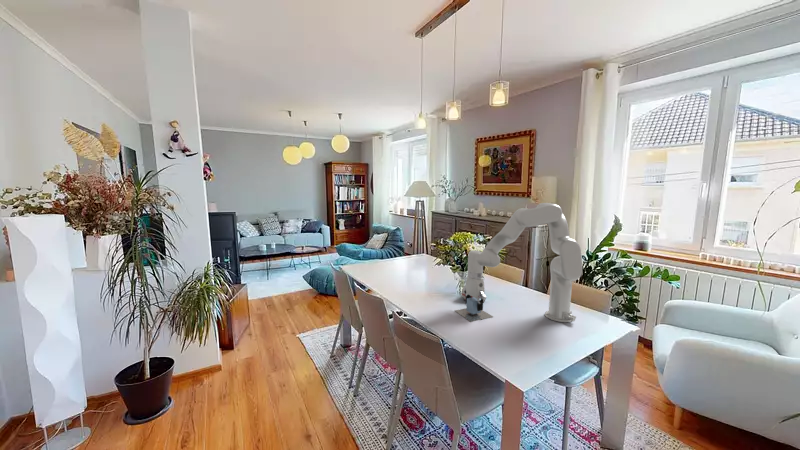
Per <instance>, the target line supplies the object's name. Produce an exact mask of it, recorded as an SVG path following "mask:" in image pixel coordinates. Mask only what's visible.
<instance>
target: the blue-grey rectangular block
mask: <svg viewBox="0 0 800 450" xmlns="http://www.w3.org/2000/svg"><path fill="white" fill-rule="evenodd" d="M479 300H481V299H479ZM477 303H478V301H477V299H476V298H474V297H472V298H467V304H466V311H468V312H470V313H471V314H477V313H481V311H477Z"/></svg>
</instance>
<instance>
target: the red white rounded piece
mask: <svg viewBox="0 0 800 450" xmlns="http://www.w3.org/2000/svg"><path fill="white" fill-rule="evenodd" d="M464 291H465V290H464V286H463V287H462V288H461V293H460V294H461V297H462V298H463V300H464V301H466V296H465V292H464ZM478 297H480V296H478ZM471 298H472V296H471Z"/></svg>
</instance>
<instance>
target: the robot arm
mask: <svg viewBox="0 0 800 450" xmlns="http://www.w3.org/2000/svg"><path fill="white" fill-rule="evenodd" d="M546 224H547V227H548V231H549V239H550V248H551V250H552V252H553V253H554V254H556V256H554V258H552V259H551V261H550V266H549V269H550V289H549V299H548V300H549V301H548V310H547V311H545V312H544V316H545V317H546V318H547V319H548V320H551V321H554V322H557V323H558V322H559V323H570V322H575V321H576V319H577V316H576V315H573V314H572V313H573V312H572V310H571V302H572V301H571V299H572V289H573V282H575V281H577V280H579V279H580V278H581V277H582V274H583V259H582V248H581V246H580V244H579V242H578V241H577V240H575V239H574V238H571V236H570V231H569V225H568V221H567V219H566V216H565V215H564V213H563V209H562V207H561V206H560V205H558V204H557V203H550V202H540V203H538V204H537V205H536V206H535V207H533V208H525V207H523V208H522V207H521V208H518V209H517V210H515V211H514V212H513V214H512V215H511V216H510V218H509V220H507V222H506V223H505V225H504V226H503V227H502V228H501V230H500V231H499V232H498V233H496V234H495V236H493V237H492V238H491V239H490V241H489V242H487V244H486V245H485V247H484V248H483V250H482V251H481V250H470V251H469V252H468V255H467V277H466V282H465V283H466V284H465V285H464V286H463V287H464V290H465V291H464V292H465V296H466V300H465V305H467V298H471V296H472V297H474V298H476V299H477V301H478V303H477V311H481V310H483V311H484V304H485V302H486V300H487V296H486V293H485V282H484V281H485V280H484V278H483V275H484V267H486V268H487V267H488V268H496V267H498V266H499V265H500V264H501V257H500V255H499V253H500V252H501V250H502V249H504V248H505V246H507V245H509V244H512V243H514V242H516V240H517V239H518V238H519V237H520V235H521V234H522V233H523V231H525V229H526V228H533V227H538V226H543V225H546ZM557 255H558V256H557ZM478 296H480V297H478ZM479 299H480V300H479Z"/></svg>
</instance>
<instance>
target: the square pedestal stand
mask: <svg viewBox="0 0 800 450" xmlns="http://www.w3.org/2000/svg"><path fill="white" fill-rule="evenodd" d="M466 308H467V307H466ZM466 308H465V307H464V308H460V309H455V310H454V312H455V313H456V314H458V315H460V316H461V317H463V318H464V319H465V320H467V321H469V322H470V323H471V322H475V321H481V319H482V320H486V319H490V318H491V319H492V318H494V315H492V314H489V313H488V312H487V311H485V310H484V309H483V310H481V313H477V314H471V313H470V312H468V311H466Z"/></svg>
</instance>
